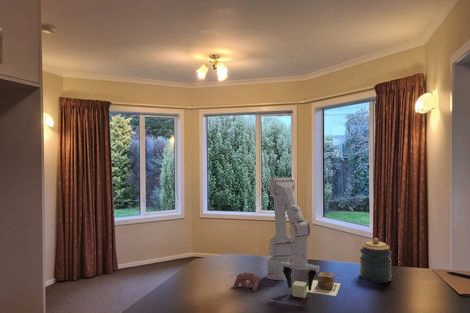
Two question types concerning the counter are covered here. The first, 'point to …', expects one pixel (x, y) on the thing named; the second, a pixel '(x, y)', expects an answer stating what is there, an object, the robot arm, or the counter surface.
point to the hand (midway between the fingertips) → (299, 288)
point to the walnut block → (326, 280)
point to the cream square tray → (324, 291)
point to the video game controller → (247, 276)
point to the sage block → (299, 289)
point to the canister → (375, 261)
